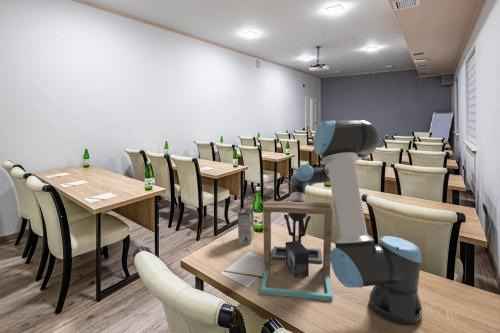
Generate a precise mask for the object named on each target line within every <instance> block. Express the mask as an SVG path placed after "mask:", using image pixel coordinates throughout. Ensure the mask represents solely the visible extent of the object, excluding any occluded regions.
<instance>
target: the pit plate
mask: <svg viewBox="0 0 500 333" xmlns="http://www.w3.org/2000/svg"><path fill="white" fill-rule="evenodd" d="M272 249H273V250H272V252H271V260H278V261H279V260H280V261H286V247H285V246H273V248H272ZM306 249H307V250H308V251H309V263H317V264H323V256H322V250H321V249H318V248H317V249H316V248H306Z"/></svg>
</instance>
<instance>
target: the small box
mask: <svg viewBox="0 0 500 333" xmlns="http://www.w3.org/2000/svg"><path fill="white" fill-rule="evenodd" d="M284 247H286V260H285V266H286V267H287V269H288V270H289V271H290V273H291V274H292V276H293V277H294V279H295V278H302V277H307V276H309V272H310V270H309V268H310V267H309V263H310V262H309V251H308V250H307V249H308V248H306V247H305V245H303V244H302V242H301V243H300V242H299V241H293V240H292V241H286V242H285V246H284Z"/></svg>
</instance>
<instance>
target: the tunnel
mask: <svg viewBox="0 0 500 333" xmlns="http://www.w3.org/2000/svg"><path fill="white" fill-rule="evenodd" d="M262 212H263V272H265V270H269V271H270V269H271V264H272V226H271V225H272V217H271V216H272V214H271V213H281V214H282V213H283V214H288V213H303V214H306V215H324V222H323V252H322V254H323V256H322V269H323V277H324V278H325V275H329V279H331V261H330V255H331V254H330V253H331V250H332V231H333V230H332V228H333V207H332V205H331V202H310V201H309V202H306V201H305V202H290V201H282V200H279V201H277V200H266V201H265V202H264V205H263V210H262Z"/></svg>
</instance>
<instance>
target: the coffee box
mask: <svg viewBox="0 0 500 333" xmlns="http://www.w3.org/2000/svg"><path fill="white" fill-rule="evenodd" d="M254 227H255V225H254V208H245V207H244V208H242V207H241V209H240V210H239V212H238V213H237V229H238V230H237V231H238V232H237V233H238V234H237V236H238V237H237V239H238V244H240V245H242V244H243V245H251V244H252V242H253V240H254V232H255V231H254V229H255V228H254Z"/></svg>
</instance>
